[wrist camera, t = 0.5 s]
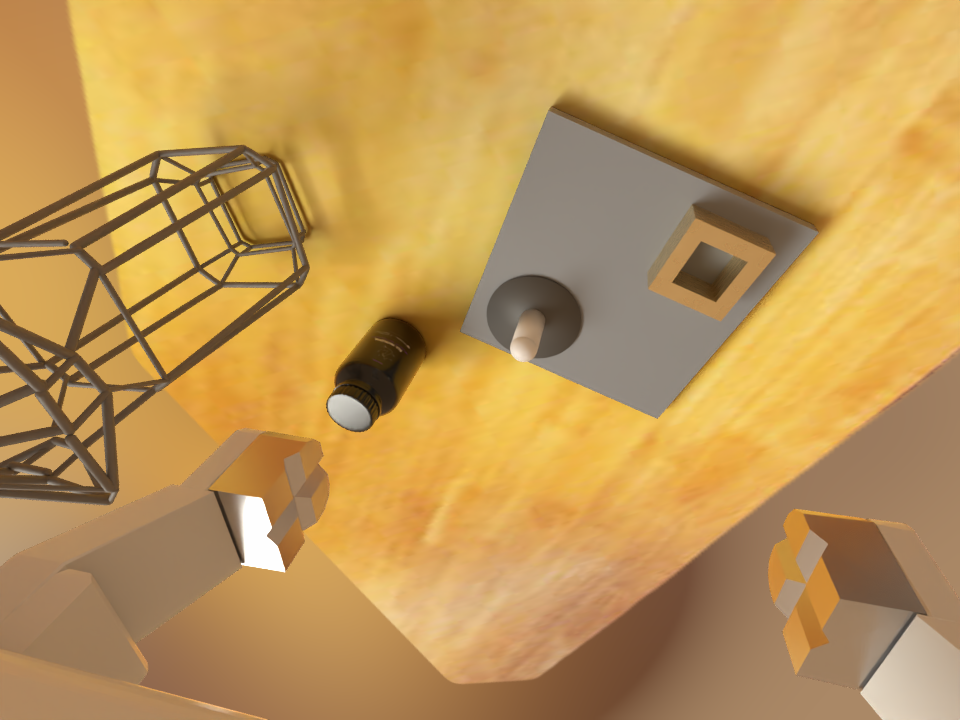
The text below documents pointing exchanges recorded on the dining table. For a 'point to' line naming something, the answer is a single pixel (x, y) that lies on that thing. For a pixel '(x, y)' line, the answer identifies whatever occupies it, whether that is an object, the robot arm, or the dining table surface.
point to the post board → (613, 266)
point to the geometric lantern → (125, 317)
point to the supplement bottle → (376, 374)
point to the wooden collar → (735, 277)
